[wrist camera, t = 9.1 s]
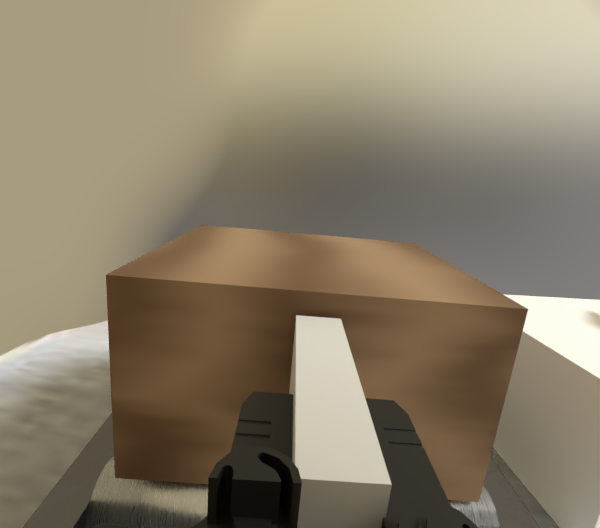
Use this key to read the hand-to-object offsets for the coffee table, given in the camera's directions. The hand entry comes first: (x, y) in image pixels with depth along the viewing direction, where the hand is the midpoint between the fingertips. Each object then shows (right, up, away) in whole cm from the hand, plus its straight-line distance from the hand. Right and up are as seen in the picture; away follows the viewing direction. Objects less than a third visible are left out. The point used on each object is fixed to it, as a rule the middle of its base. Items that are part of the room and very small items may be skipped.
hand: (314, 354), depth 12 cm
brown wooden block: (-1, -4, +7) cm, 9 cm away
